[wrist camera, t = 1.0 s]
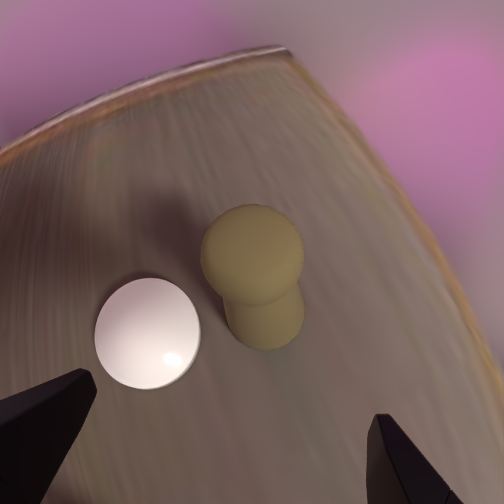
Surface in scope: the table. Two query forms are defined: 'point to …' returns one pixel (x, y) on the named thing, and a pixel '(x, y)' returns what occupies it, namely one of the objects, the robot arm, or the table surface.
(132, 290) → the coaster
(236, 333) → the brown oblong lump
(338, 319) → the table surface
